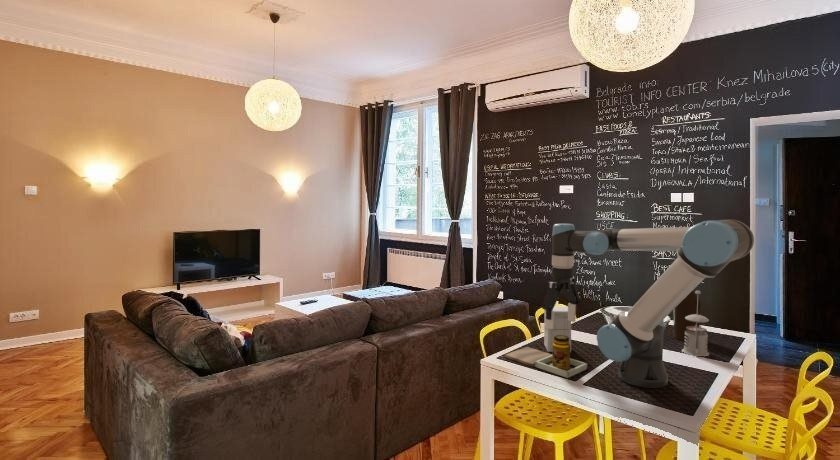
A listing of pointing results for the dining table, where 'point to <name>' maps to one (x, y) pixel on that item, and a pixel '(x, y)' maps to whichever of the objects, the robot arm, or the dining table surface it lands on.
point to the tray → (580, 367)
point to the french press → (696, 335)
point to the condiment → (561, 353)
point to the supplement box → (557, 327)
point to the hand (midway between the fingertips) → (560, 324)
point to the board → (527, 355)
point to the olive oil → (681, 311)
